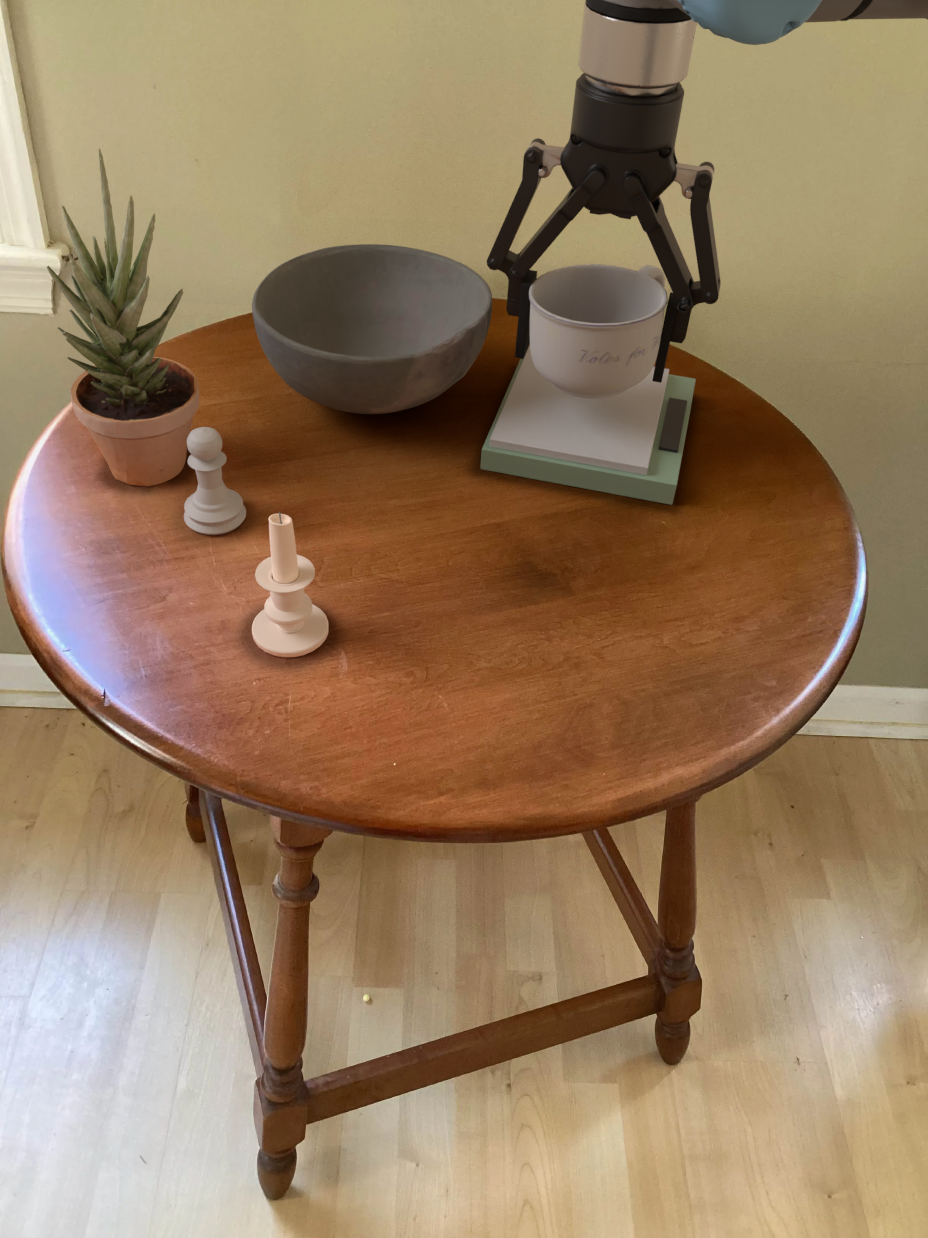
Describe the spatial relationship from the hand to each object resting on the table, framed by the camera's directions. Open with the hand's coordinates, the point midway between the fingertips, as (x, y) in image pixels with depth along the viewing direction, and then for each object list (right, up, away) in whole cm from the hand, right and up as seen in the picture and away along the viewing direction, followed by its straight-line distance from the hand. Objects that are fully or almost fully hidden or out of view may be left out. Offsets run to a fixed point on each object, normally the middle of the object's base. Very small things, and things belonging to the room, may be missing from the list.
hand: (589, 362), depth 87 cm
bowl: (-19, -1, +8) cm, 20 cm away
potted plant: (-36, -9, -2) cm, 37 cm away
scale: (+1, -5, +4) cm, 7 cm away
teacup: (+1, -1, +1) cm, 2 cm away
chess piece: (-30, -14, -6) cm, 33 cm away
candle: (-23, -22, -15) cm, 35 cm away
